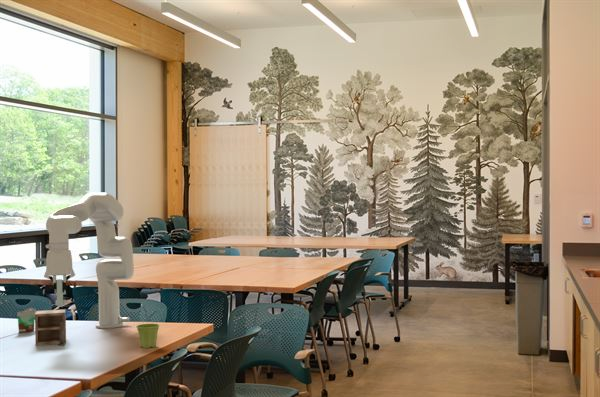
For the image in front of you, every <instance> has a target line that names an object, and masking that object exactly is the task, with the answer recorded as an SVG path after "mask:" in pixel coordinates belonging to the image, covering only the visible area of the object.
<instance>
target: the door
mask: <svg viewBox="0 0 600 397" xmlns="http://www.w3.org/2000/svg"><path fill="white" fill-rule="evenodd" d="M56 281H57V289H54V288H53V291H54V294H55V295H56V300H55V306H57V307H63V306H66V305H67V300H66V299H64V295H67V292H66V290H67V289H66V290H64V292H62V282H63V278H61V279H60V278H59V279H58V278H57V279H56Z"/></svg>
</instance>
